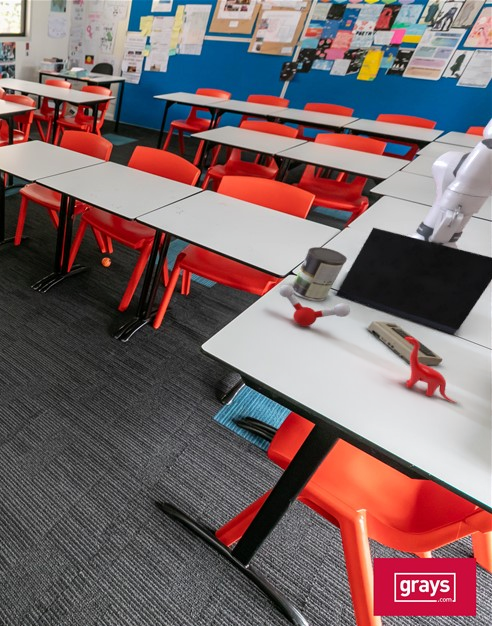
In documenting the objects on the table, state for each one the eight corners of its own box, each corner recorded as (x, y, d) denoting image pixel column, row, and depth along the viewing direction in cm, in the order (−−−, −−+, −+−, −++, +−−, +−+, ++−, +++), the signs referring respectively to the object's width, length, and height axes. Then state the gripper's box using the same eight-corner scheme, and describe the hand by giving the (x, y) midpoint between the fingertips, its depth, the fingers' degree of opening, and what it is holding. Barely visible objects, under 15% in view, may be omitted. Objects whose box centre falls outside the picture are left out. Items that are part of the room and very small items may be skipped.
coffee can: (286, 292, 138) (304, 253, 130) (296, 281, 144) (314, 244, 136) (321, 305, 132) (342, 265, 124) (330, 293, 138) (350, 255, 130)
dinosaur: (456, 408, 97) (492, 368, 90) (378, 378, 104) (406, 339, 97) (455, 399, 99) (490, 359, 92) (379, 370, 107) (406, 331, 100)
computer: (439, 365, 109) (447, 355, 107) (410, 365, 109) (418, 356, 107) (392, 329, 122) (398, 320, 120) (366, 329, 122) (371, 320, 120)
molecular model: (337, 333, 119) (354, 304, 114) (332, 341, 116) (349, 312, 110) (272, 308, 129) (284, 280, 124) (266, 315, 126) (279, 286, 120)
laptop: (349, 273, 150) (351, 268, 149) (457, 307, 134) (461, 302, 133) (335, 294, 138) (338, 289, 136) (453, 334, 121) (457, 329, 120)
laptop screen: (373, 227, 131) (373, 227, 130) (503, 260, 114) (504, 260, 113) (338, 290, 136) (338, 289, 136) (457, 330, 120) (458, 330, 119)
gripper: (475, 214, 108) (442, 262, 116) (476, 197, 120) (446, 241, 128) (444, 207, 111) (414, 254, 119) (448, 191, 124) (420, 235, 132)
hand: (430, 247), depth 124 cm, fingers closed
